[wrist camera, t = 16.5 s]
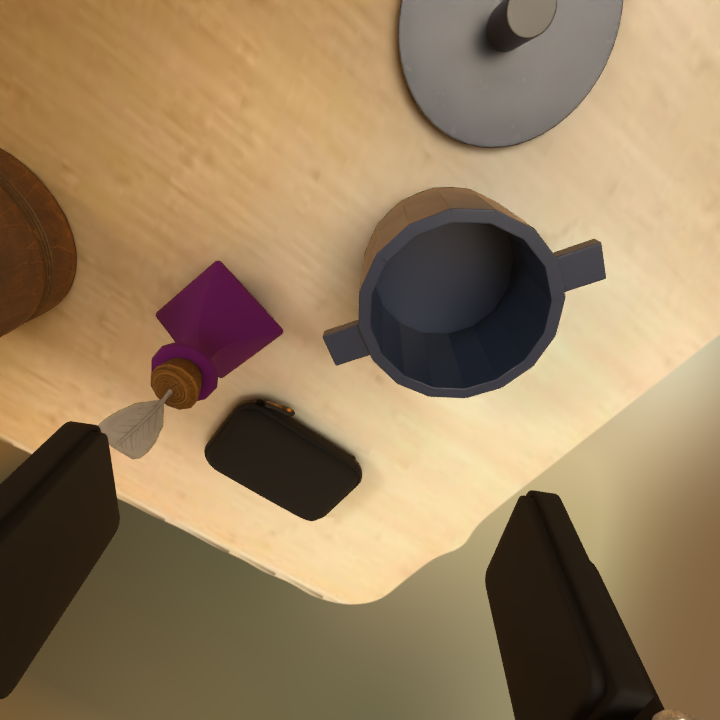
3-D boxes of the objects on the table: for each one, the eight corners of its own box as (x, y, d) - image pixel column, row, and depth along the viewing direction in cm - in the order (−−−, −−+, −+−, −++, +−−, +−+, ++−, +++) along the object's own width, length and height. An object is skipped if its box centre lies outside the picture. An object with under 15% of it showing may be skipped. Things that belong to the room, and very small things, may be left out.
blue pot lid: (367, -47, 27) (363, -90, 22) (599, -169, 24) (662, -254, 19) (432, 176, 33) (442, 187, 27) (626, 99, 30) (679, 94, 25)
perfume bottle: (231, 248, 36) (111, 347, 20) (292, 316, 39) (228, 451, 23) (171, 300, 39) (22, 424, 23) (232, 361, 41) (137, 510, 25)
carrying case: (377, 455, 46) (256, 377, 42) (377, 476, 43) (247, 394, 39) (318, 511, 50) (203, 445, 46) (314, 534, 47) (192, 465, 43)
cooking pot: (309, 235, 35) (287, 270, 27) (538, 145, 32) (594, 153, 23) (366, 365, 41) (361, 428, 32) (567, 301, 37) (621, 353, 29)
